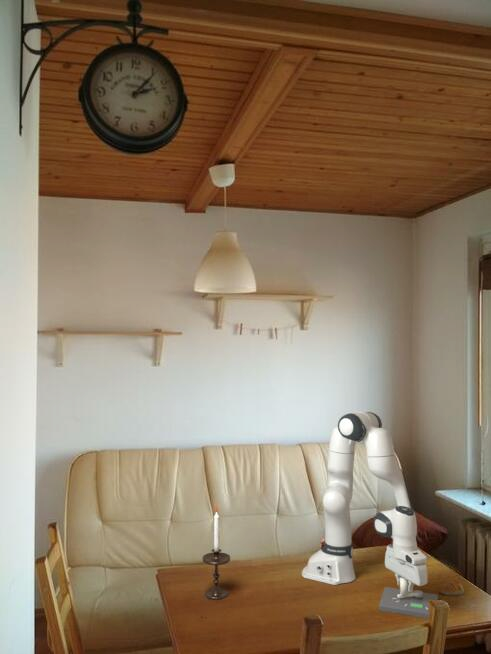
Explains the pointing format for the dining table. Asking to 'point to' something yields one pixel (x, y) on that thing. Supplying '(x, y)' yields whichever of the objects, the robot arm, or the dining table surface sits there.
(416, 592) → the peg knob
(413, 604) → the dial plate
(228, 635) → the dining table surface
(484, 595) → the dining table surface
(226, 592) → the candlestick
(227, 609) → the dining table surface
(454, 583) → the pastry
